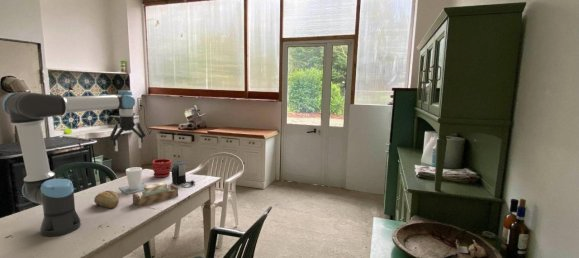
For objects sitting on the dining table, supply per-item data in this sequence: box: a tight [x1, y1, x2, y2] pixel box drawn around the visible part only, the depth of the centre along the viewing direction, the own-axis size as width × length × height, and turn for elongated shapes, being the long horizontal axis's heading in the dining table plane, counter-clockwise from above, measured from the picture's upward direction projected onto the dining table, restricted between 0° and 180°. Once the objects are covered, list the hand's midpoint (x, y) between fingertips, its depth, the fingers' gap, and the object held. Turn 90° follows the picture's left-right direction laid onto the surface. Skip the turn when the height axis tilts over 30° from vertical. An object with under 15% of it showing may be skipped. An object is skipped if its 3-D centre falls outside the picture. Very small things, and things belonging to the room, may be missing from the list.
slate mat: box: [118, 182, 148, 195], centre depth 193 cm, size 15×15×1 cm
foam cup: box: [125, 166, 143, 190], centre depth 192 cm, size 10×9×13 cm
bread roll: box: [93, 190, 120, 209], centre depth 165 cm, size 10×15×8 cm, turn 71°
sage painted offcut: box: [141, 186, 170, 197], centre depth 175 cm, size 14×4×2 cm, turn 138°
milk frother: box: [171, 160, 196, 186], centre depth 204 cm, size 14×16×15 cm
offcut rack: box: [131, 183, 179, 208], centre depth 175 cm, size 24×8×6 cm, turn 138°
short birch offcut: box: [144, 181, 168, 193], centre depth 175 cm, size 12×4×2 cm, turn 138°
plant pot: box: [152, 158, 172, 178], centre depth 220 cm, size 13×13×12 cm
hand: (128, 149), depth 180 cm, fingers open, 13 cm apart
